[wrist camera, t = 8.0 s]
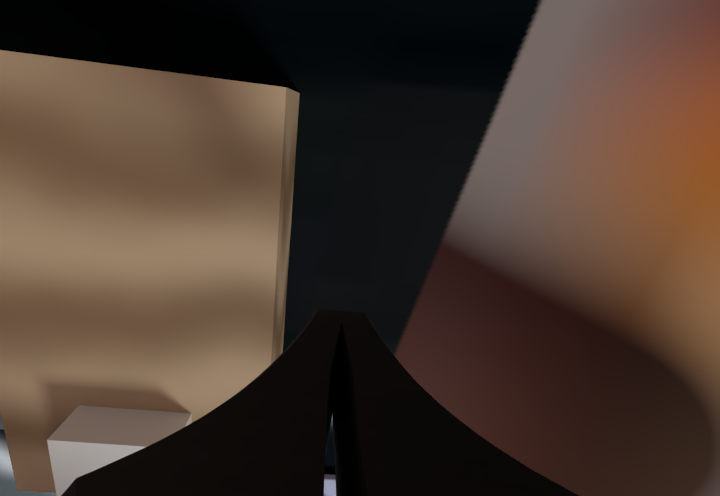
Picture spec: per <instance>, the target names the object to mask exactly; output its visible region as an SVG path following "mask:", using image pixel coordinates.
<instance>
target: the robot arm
mask: <svg viewBox="0 0 720 496" xmlns="http://www.w3.org/2000/svg"><path fill="white" fill-rule="evenodd" d="M332 414H333V437H334V458H335V475H329V474H324V473H325V455H326V449H327V442H328V436H329V430H330V424H331V418H332ZM61 496H579V495H577V494H575V493H573V492H571V491H570V490H568V489H566V488H564V487H562V486H560V485H559V484H557V483H555V482H553V481H551V480H549V479H548V478H546V477H544V476H542V475H540V474H539V473H537V472H535V471H533V470H531V469H530V468H528V467H527V466H525V465H523V464H522V463H520V462H519V461H517V460H516V459H514V458H512V457H511V456H509V455H508V454H506V453H505V452H503V451H501V450H500V449H498V448H497V447H495V446H494V445H492V444H491V443H489V442H488V441H487V440H485V439H484V438H482V437H481V436H480V435H478V434H477V433H475V432H474V431H473V430H471V429H470V428H469V427H468V426H466V425H465V424H464V423H462V422H461V421H460V420H459V419H457V418H456V417H455V416H453V415H452V414H451V413H450V412H448V411H447V410H446V409H445V408H444V407H443V406H441V405H440V404H439V403H438V402H437V401H436V400H435V399H434V398H432V396H431V395H430V394H428V393H427V392H426V391H425V390H424V389H423V388H422V387H421V386H420V385H419V384H418V383H417V382H416V381H415V380H414V379H413V378H412V377H411V375H410V374H409V373H408V372H407V371H406V370H405V369H404V367H403V366H402V365H401V364H400V363H399V361H398V360H397V359H396V357H395V356H394V355H393V353H392V352H391V351H390V349H389V348H388V347H387V346H386V344H385V343H384V341H383V340H382V338H381V337H380V335H379V334H378V332H377V331H376V329H375V328H374V326H373V325H372V323H371V321H370V320H369V318H368V316H367V315H366V314H365V313H359V312H347V311H334V310H322V309H318V310H316V311H315V312H314V313H313V315H312V316H311V318H310V320H309V321H308V323H307V324H306V325H305V327H304V328H303V329H302V331H301V332H300V333H299V335H298V336H297V337H296V338H295V339H294V340H293V342H292V343H291V344H290V345H289V346H288V348H287V349H286V350H285V351H284V352H283V353H282V354H281V355H280V356H279V357H278V358H277V359H276V360H275V361H274V362H273V363H272V364H271V365H270V366H269V367H268V368H267V369H266V370H265V371H263V372H262V373H261V374H260V375H259V376H258V377H257V378H256V379H254V380H253V381H252V382H251V383H250V384H248V385H247V386H246V387H245V388H243V389H242V390H241V391H239V392H238V393H237V394H235V395H234V396H233V397H231V398H230V399H228V400H227V401H226V402H224V403H223V404H221V405H220V406H218V407H217V408H215V409H214V410H212V411H211V412H209V413H208V414H206V415H204V416H203V417H201V418H199V419H198V420H196V421H194V422H192V423H191V424H189V425H187V426H186V427H184V428H182V429H180V430H178V431H176V432H174V433H173V434H171V435H169V436H167V437H165V438H163V439H161V440H159V441H157V442H155V443H153V444H151V445H149V446H147V447H145V448H143V449H141V450H139V451H137V452H134V453H132V454H130V455H128V456H125V457H123V458H121V459H119V460H117V461H114V462H112V463H110V464H108V465H105V466H103V467H101V468H99V469H97V470H94V471H92V472H90V473H87V474H85V475H82V476H80V477H78V478H76V479H75V480H74V481H73V482H72V484H71V485H70V486H69V487H68V488H67V490H66V491H65V492H64V493H63V494H62V495H61Z"/></svg>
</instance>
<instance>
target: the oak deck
mask: <svg viewBox="0 0 720 496" xmlns="http://www.w3.org/2000/svg"><path fill="white" fill-rule="evenodd" d="M299 94H300V93H298V92H296V91H293V90H291V89H289V88H287V87H280V86H272V85H265V84H257V83H249V82H242V81H234V80H226V79H219V78H211V77H203V76H196V75H188V74H180V73H173V72H165V71H157V70H150V69H142V68H134V67H127V66H119V65H111V64H104V63H96V62H89V61H81V60H73V59H66V58H58V57H50V56H43V55H35V54H27V53H20V52H12V51H4V50H0V412H1V417H2V422H3V426H4V431H5V436H6V440H7V445H8V449H9V454H10V459H11V463H12V468H13V473H14V477H15V482H16V486H17V490H19V491H36V492H53V493H56V489H55V484H54V478H53V472H52V466H51V461H50V455H49V449H48V443H47V439H48V438H49V437H50V436H51V435H52V434H53V433H54V432H55V431H56V430H57V429H58V427H59V426H60V425H61V424H62V423H63V422H64V421H65V420H66V419H67V418H68V417H69V416H70V414H71V413H72V412H73V411H74V410H75V409H76V408H77V407H78V406H79V405H83V406H97V407H110V408H124V409H138V410H151V411H165V412H179V413H192V422H194V421H196V420H198V419H199V418H201V417H203V416H204V415H206V414H208V413H209V412H211V411H212V410H214V409H215V408H217V407H218V406H220V405H221V404H223V403H224V402H226V401H227V400H228V399H230V398H231V397H233V396H234V395H235V394H237V393H238V392H239V391H241V390H242V389H243V388H245V387H246V386H247V385H248V384H250V383H251V382H252V381H253V380H254V379H256V378H257V377H258V376H259V375H260V374H261V373H262V372H263V371H265V370H266V369H267V368H268V367H269V366H270V365H271V364H272V363H273V362H274V361H275V360H276V359H277V358H278V357H279V356H280V355H281V354H282V352H283V337H284V322H285V307H286V292H287V276H288V261H289V246H290V231H291V216H292V201H293V185H294V170H295V155H296V140H297V125H298V109H299Z"/></svg>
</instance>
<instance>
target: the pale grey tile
mask: <svg viewBox="0 0 720 496" xmlns="http://www.w3.org/2000/svg"><path fill="white" fill-rule="evenodd" d="M191 423H192V413H179V412H165V411H151V410H138V409H124V408H110V407H97V406H83V405H79V406H78V407H77V408H76V409H75V410H74V411H73V412H72V413H71V414H70V416H69V417H68V418H67V419H66V420H65V421H64V422H63V423H62V424H61V425H60V426H59V427H58V429H57V430H56V431H55V432H54V433H53V434H52V435H51V436H50V437H49V438H48V439H47V443H48V449H49V455H50V461H51V466H52V472H53V478H54V484H55V489H56V495H57V496H61V495H62V494H63V493H64V492H65V491H66V490H67V488H68V487H69V486H70V485H71V484H72V482H73V481H74V480H75V479H76V478H78V477H80V476H82V475H85V474H87V473H90V472H92V471H94V470H97V469H99V468H101V467H103V466H105V465H108V464H110V463H112V462H114V461H117V460H119V459H121V458H123V457H125V456H128V455H130V454H132V453H134V452H137V451H139V450H141V449H143V448H145V447H147V446H149V445H151V444H153V443H155V442H157V441H159V440H161V439H163V438H165V437H167V436H169V435H171V434H173V433H174V432H176V431H178V430H180V429H182V428H184V427H186V426H187V425H189V424H191Z"/></svg>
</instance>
